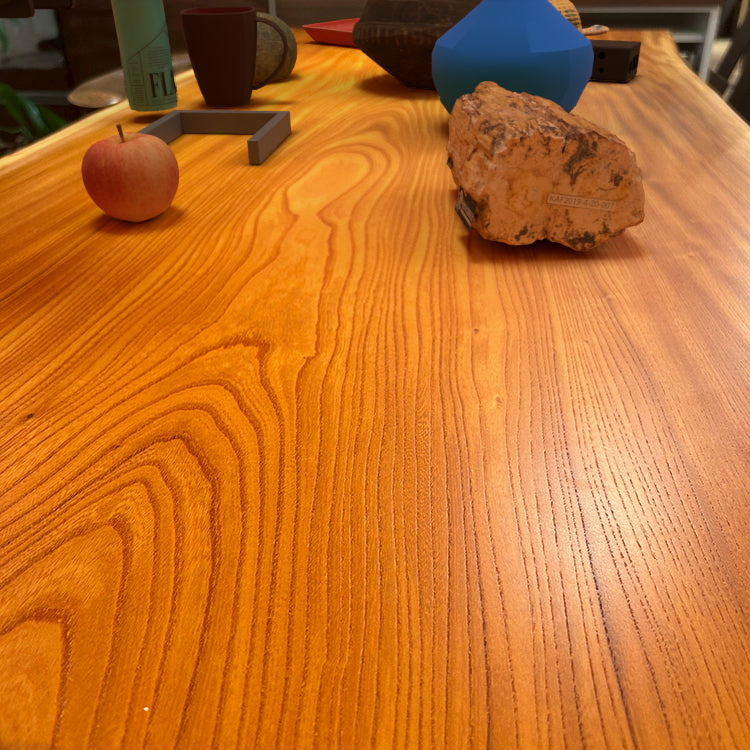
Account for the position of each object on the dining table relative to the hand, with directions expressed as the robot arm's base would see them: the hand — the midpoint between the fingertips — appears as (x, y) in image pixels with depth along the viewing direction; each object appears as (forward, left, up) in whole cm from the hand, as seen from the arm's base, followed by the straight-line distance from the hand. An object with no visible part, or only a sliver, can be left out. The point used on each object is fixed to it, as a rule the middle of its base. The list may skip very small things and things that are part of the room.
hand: (31, 9), depth 50 cm
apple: (0, +10, -18) cm, 20 cm away
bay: (-1, +34, -17) cm, 38 cm away
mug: (-5, +57, -18) cm, 60 cm away
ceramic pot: (+21, +73, -18) cm, 78 cm away
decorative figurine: (+40, +106, -18) cm, 115 cm away
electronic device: (+46, +80, -18) cm, 94 cm away
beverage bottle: (-14, +48, -18) cm, 53 cm away
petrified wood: (+33, +13, -18) cm, 40 cm away
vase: (+32, +44, -18) cm, 57 cm away
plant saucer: (+3, +120, -18) cm, 122 cm away
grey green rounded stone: (-9, +78, -18) cm, 80 cm away
